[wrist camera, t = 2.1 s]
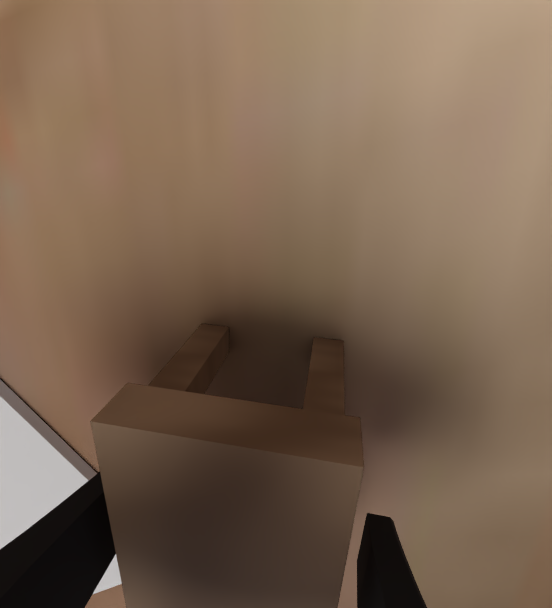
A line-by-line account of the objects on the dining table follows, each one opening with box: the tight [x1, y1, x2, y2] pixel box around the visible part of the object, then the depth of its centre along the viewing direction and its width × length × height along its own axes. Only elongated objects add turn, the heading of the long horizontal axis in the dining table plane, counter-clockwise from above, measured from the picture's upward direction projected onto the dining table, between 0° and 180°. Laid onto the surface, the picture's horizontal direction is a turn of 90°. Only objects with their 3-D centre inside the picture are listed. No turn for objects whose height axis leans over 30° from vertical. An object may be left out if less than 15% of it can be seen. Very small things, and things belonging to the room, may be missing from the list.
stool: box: [90, 324, 364, 608], centre depth 11 cm, size 6×9×6 cm, turn 178°
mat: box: [0, 380, 122, 594], centre depth 18 cm, size 14×14×1 cm
